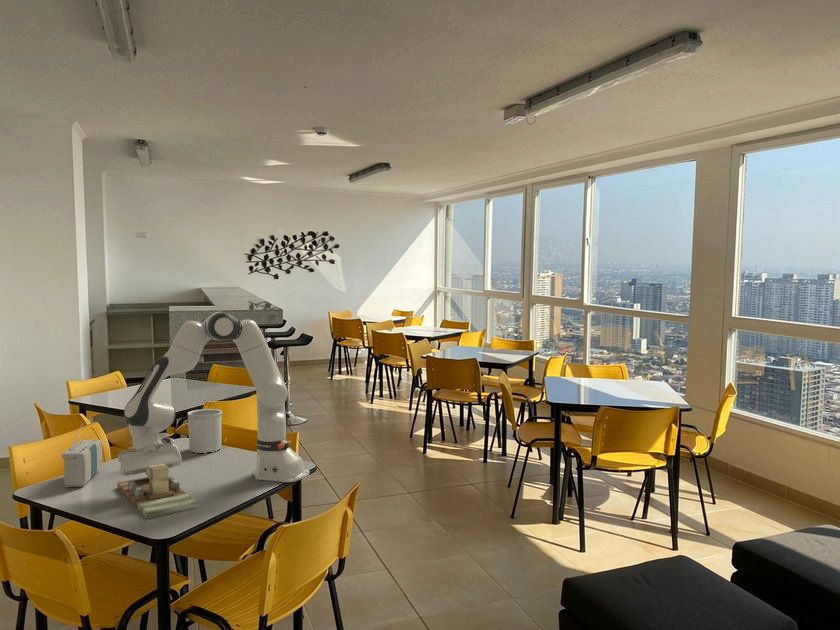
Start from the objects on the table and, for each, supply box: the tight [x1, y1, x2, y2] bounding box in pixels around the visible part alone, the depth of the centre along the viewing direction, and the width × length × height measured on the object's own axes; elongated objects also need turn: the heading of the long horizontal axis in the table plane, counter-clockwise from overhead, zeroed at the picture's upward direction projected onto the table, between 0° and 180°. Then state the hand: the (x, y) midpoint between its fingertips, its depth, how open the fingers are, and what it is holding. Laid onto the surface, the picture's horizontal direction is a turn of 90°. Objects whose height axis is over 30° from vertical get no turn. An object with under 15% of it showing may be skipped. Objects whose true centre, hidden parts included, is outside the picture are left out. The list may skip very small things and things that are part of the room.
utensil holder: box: [187, 408, 223, 454], centre depth 275 cm, size 15×15×18 cm
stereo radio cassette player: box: [61, 423, 103, 488], centre depth 232 cm, size 21×8×20 cm, turn 12°
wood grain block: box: [143, 464, 174, 500], centre depth 211 cm, size 8×8×10 cm
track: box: [116, 474, 198, 519], centre depth 214 cm, size 37×16×5 cm, turn 40°
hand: (156, 480), depth 214 cm, fingers closed, pressing on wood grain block
